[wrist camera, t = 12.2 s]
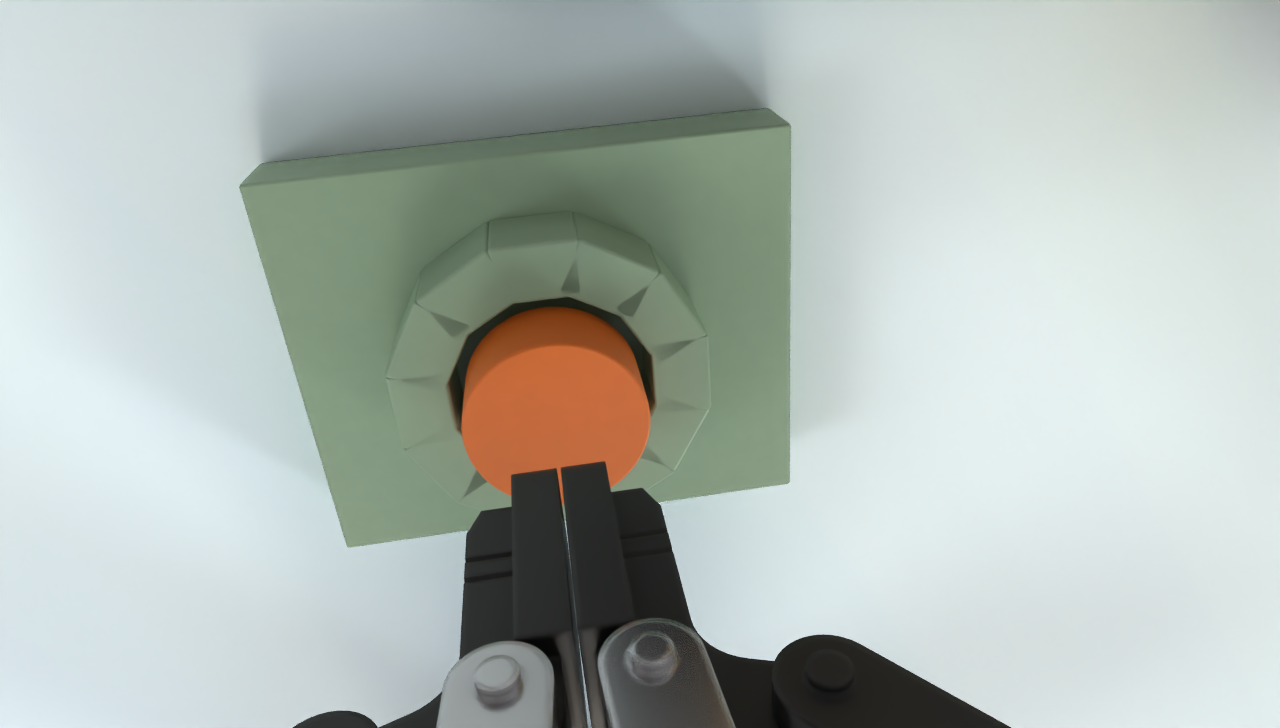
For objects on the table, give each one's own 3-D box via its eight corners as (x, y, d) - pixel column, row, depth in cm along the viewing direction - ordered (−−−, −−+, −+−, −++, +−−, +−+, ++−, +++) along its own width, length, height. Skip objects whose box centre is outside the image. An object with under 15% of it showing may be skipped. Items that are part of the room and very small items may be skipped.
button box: (769, 107, 19) (819, 144, 16) (772, 448, 23) (812, 528, 20) (259, 163, 18) (209, 213, 15) (357, 507, 23) (333, 600, 19)
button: (631, 295, 17) (643, 331, 16) (645, 445, 19) (657, 491, 18) (451, 317, 17) (445, 357, 16) (480, 468, 19) (478, 517, 17)
